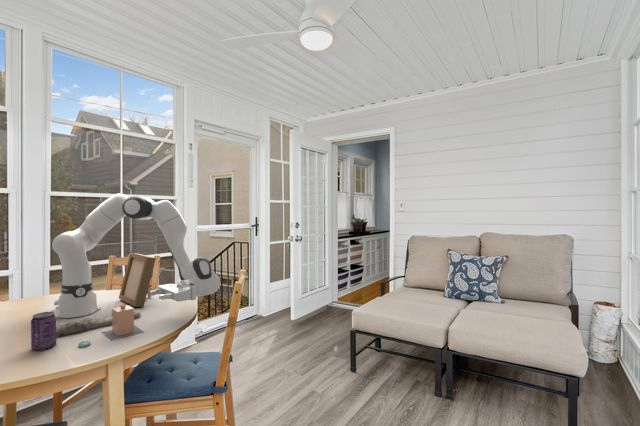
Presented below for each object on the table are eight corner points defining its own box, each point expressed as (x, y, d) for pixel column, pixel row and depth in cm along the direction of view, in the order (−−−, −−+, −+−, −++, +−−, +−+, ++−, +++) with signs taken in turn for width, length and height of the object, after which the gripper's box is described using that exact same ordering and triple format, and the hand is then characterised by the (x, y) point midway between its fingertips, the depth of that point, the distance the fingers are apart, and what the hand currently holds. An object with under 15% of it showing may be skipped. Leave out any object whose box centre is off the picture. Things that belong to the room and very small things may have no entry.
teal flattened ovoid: (77, 347, 124) (77, 343, 124) (88, 344, 127) (88, 340, 127) (79, 350, 122) (79, 345, 122) (91, 347, 125) (91, 342, 125)
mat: (101, 333, 137) (101, 332, 137) (133, 326, 146) (133, 324, 146) (111, 342, 129) (111, 340, 129) (144, 333, 138) (144, 332, 138)
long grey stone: (144, 323, 154) (135, 319, 161) (145, 311, 155) (136, 307, 161) (46, 341, 128) (40, 336, 134) (47, 327, 128) (41, 322, 135)
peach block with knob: (112, 332, 137) (112, 305, 137) (128, 328, 142) (128, 302, 141) (117, 336, 133) (117, 308, 133) (133, 332, 138) (133, 305, 137)
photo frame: (134, 308, 169) (135, 258, 169) (118, 300, 183) (119, 253, 183) (164, 302, 180) (165, 255, 180) (147, 295, 195) (147, 251, 194)
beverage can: (40, 343, 127) (40, 311, 127) (61, 343, 128) (60, 311, 127) (25, 351, 120) (25, 317, 120) (47, 351, 121) (47, 317, 120)
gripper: (175, 279, 163) (145, 284, 153) (197, 286, 150) (165, 292, 139) (176, 292, 163) (145, 298, 153) (197, 300, 150) (165, 307, 139)
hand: (155, 295), depth 146 cm, fingers open, 8 cm apart
